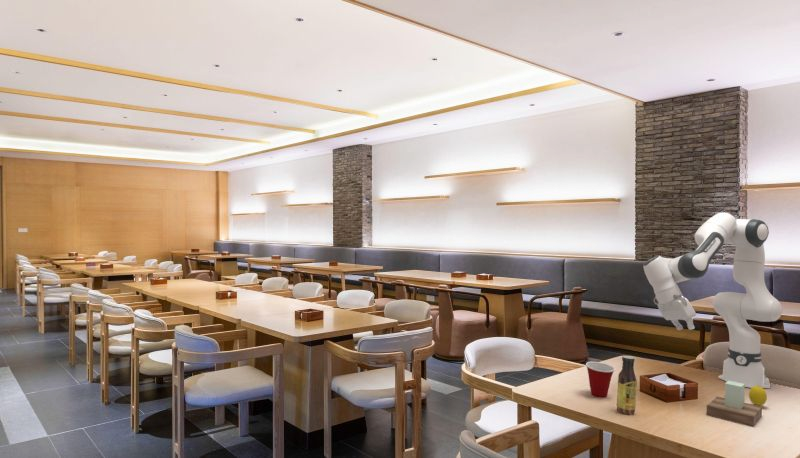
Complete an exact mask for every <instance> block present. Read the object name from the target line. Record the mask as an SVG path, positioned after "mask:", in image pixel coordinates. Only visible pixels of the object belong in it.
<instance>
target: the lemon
mask: <svg viewBox="0 0 800 458" xmlns="http://www.w3.org/2000/svg"><path fill="white" fill-rule="evenodd" d="M767 395H768V394H767V392H766V389H765V388H762V387H760V386H759V385H757V386H754V387H752V388H750V390H749V393H748V397H749V400H750V402H751V404H753V405H757V406H763V405H764V404H766V402H767V400H768V396H767Z"/></svg>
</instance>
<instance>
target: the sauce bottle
mask: <svg viewBox="0 0 800 458" xmlns="http://www.w3.org/2000/svg"><path fill="white" fill-rule="evenodd" d="M621 360H622V365H621V366H622V367H621V370H620V371H619V373H618V376H617V379H618V380H617V391H616V392H617V393H616V410H617V412H619V413H621V414H623V415H633V414H635V412H636V405H637V403H636V402H637V385H638V383H637V378H636V377H637V376H636V374H635V370H634V369H635V368H634V366H635V357H633V356H630V355H623V356H622V359H621Z"/></svg>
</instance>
